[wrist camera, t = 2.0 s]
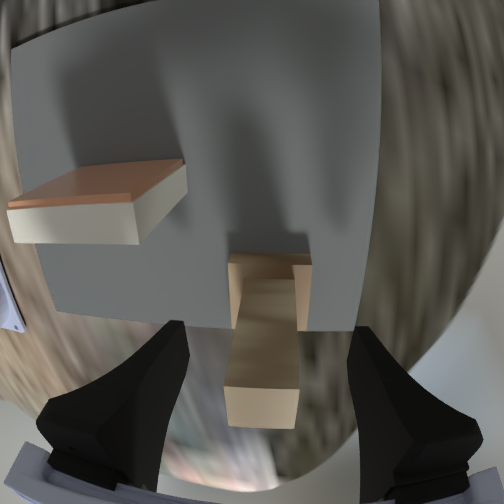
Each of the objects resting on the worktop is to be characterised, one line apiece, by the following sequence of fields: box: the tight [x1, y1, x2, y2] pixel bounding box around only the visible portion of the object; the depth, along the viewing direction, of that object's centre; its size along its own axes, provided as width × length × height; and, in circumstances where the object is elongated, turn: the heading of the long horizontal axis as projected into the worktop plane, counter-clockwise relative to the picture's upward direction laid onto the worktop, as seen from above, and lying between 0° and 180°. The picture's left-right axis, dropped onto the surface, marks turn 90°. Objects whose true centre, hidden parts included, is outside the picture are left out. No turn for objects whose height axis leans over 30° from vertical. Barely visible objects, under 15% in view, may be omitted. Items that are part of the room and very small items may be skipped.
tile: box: [7, 159, 188, 245], centre depth 13 cm, size 6×2×6 cm, turn 91°
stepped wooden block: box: [224, 252, 312, 429], centre depth 14 cm, size 4×4×8 cm
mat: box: [11, 0, 382, 331], centre depth 15 cm, size 20×18×1 cm
